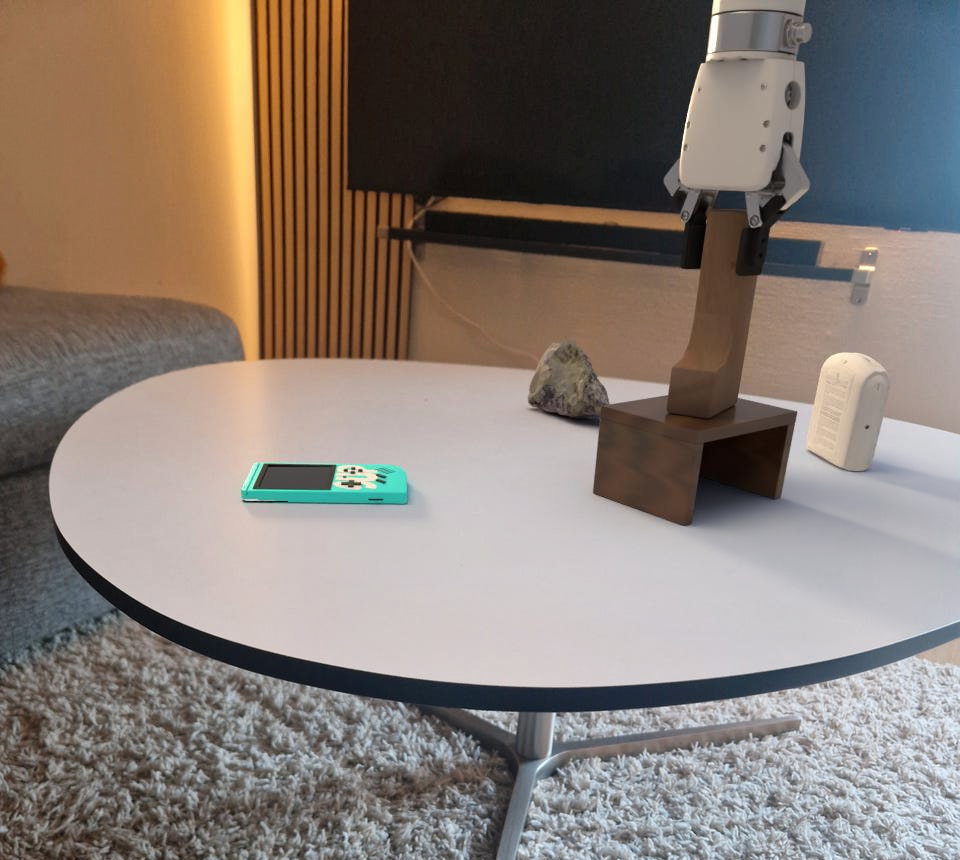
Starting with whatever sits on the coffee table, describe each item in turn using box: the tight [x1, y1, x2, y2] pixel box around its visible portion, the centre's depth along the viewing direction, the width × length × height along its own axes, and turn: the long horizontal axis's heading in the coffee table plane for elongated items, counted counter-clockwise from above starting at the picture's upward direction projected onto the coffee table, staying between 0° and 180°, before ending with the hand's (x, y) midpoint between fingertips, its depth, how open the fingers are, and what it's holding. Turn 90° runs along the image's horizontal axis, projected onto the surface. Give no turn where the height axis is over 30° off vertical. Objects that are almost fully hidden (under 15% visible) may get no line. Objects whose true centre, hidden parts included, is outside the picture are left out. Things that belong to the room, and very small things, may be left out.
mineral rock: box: [527, 338, 611, 420], centre depth 124 cm, size 13×11×10 cm
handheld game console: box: [240, 461, 408, 505], centre depth 94 cm, size 10×16×1 cm, turn 95°
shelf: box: [592, 394, 798, 526], centre depth 94 cm, size 12×16×9 cm
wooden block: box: [666, 208, 759, 419], centre depth 88 cm, size 9×4×18 cm, turn 149°
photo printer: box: [805, 352, 892, 472], centre depth 109 cm, size 10×4×12 cm, turn 10°
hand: (720, 269), depth 87 cm, fingers open, 5 cm apart
